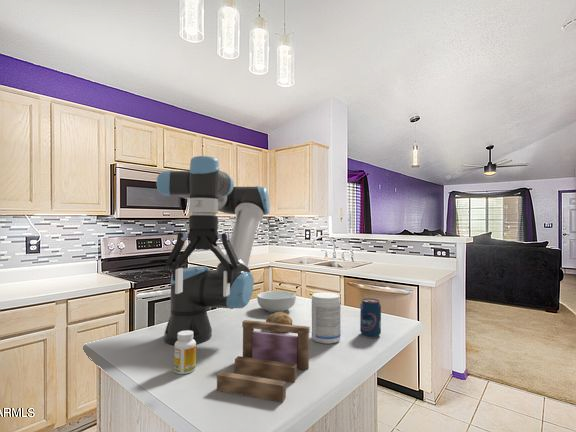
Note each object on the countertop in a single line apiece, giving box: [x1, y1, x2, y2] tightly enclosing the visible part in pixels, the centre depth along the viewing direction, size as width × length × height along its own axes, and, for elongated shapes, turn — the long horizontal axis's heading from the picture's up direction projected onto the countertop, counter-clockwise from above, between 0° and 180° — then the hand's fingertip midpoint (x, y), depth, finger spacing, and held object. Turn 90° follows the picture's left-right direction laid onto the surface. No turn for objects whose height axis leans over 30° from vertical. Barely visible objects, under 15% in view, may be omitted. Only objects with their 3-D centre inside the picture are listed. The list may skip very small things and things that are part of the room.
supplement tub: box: [311, 292, 342, 345], centre depth 109 cm, size 10×10×15 cm
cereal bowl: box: [256, 290, 297, 314], centre depth 143 cm, size 17×17×7 cm
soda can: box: [359, 298, 382, 339], centre depth 113 cm, size 7×7×12 cm
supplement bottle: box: [173, 330, 197, 375], centre depth 85 cm, size 5×5×10 cm
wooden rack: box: [216, 319, 311, 403], centre depth 82 cm, size 19×19×11 cm
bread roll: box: [265, 311, 293, 334], centre depth 119 cm, size 10×10×8 cm
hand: (202, 294), depth 87 cm, fingers open, 13 cm apart
